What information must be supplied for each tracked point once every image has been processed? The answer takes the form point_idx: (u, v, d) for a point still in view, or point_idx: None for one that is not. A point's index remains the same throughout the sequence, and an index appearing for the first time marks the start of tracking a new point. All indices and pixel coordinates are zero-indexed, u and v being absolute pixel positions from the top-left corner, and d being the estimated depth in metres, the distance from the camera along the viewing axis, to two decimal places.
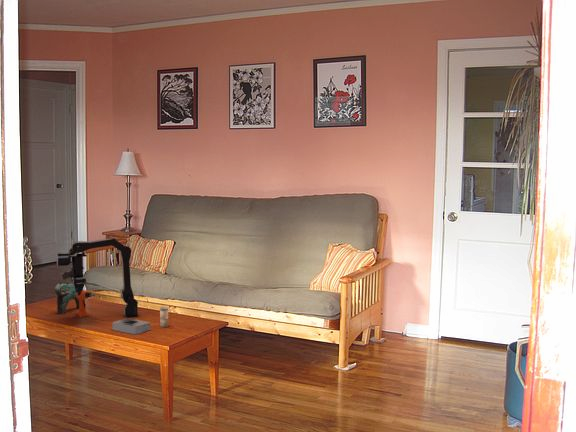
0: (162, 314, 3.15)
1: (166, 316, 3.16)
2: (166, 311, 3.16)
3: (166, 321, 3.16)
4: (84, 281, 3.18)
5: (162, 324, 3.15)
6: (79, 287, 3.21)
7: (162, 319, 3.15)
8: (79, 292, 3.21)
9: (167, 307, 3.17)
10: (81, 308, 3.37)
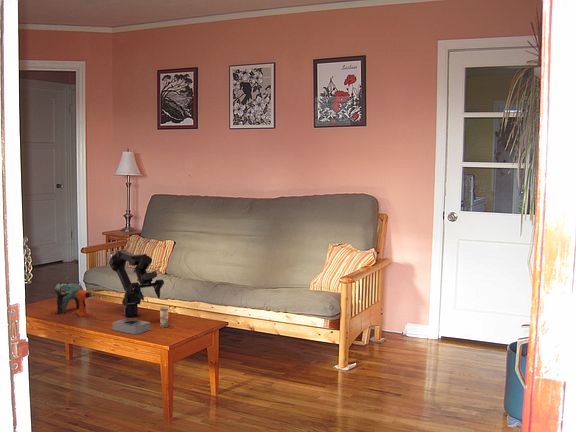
0: (162, 314, 3.15)
1: (166, 316, 3.16)
2: (166, 311, 3.16)
3: (166, 321, 3.16)
4: None
5: (162, 324, 3.15)
6: None
7: (162, 319, 3.15)
8: None
9: (167, 307, 3.17)
10: (81, 308, 3.37)
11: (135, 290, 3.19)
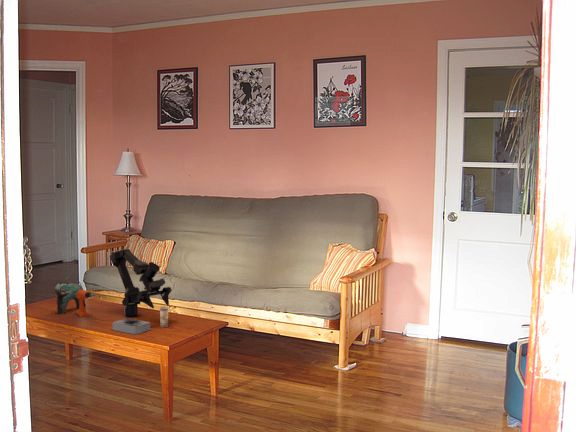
0: (162, 314, 3.15)
1: (166, 316, 3.16)
2: (166, 311, 3.16)
3: (166, 321, 3.16)
4: None
5: (162, 324, 3.15)
6: None
7: (162, 319, 3.15)
8: None
9: (167, 307, 3.17)
10: (81, 308, 3.37)
11: (144, 298, 3.17)
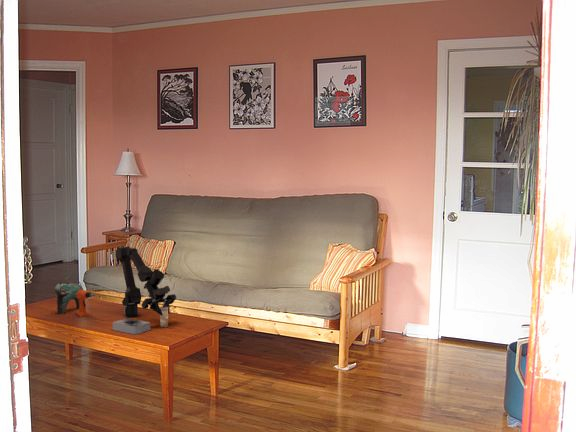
0: None
1: (166, 316, 3.16)
2: (166, 311, 3.16)
3: (166, 321, 3.16)
4: None
5: (162, 324, 3.15)
6: None
7: (162, 319, 3.15)
8: None
9: (167, 307, 3.17)
10: (81, 308, 3.37)
11: (153, 305, 3.15)
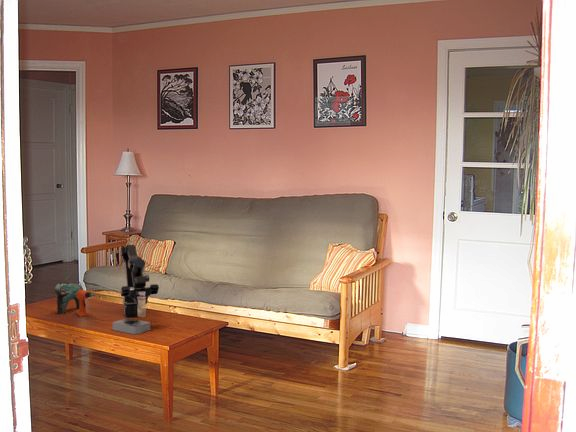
0: (138, 303, 3.08)
1: (142, 306, 3.08)
2: (142, 300, 3.08)
3: (142, 311, 3.09)
4: None
5: (138, 313, 3.09)
6: None
7: (138, 308, 3.09)
8: None
9: (144, 297, 3.09)
10: (81, 308, 3.37)
11: (131, 294, 3.11)
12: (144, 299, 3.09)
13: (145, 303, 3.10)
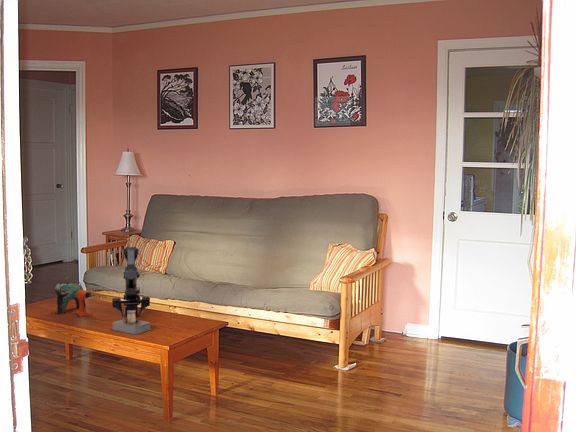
0: (128, 317, 3.08)
1: (131, 320, 3.07)
2: (131, 314, 3.07)
3: None
4: None
5: None
6: (142, 308, 3.12)
7: (128, 322, 3.08)
8: (141, 312, 3.10)
9: (134, 311, 3.08)
10: (81, 308, 3.37)
11: (117, 305, 3.10)
12: (133, 313, 3.08)
13: (135, 317, 3.09)
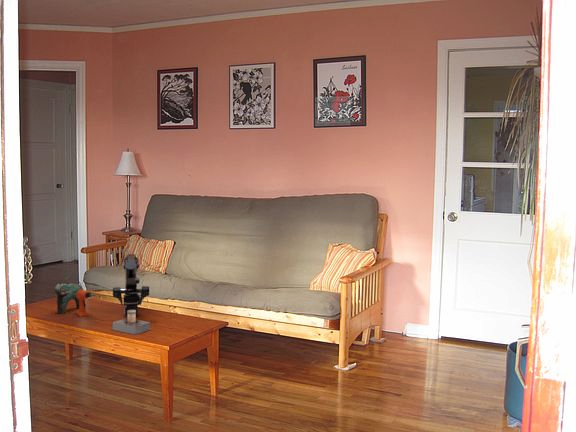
0: (128, 317, 3.08)
1: (131, 320, 3.07)
2: (131, 315, 3.07)
3: None
4: None
5: None
6: (142, 297, 3.21)
7: (128, 322, 3.08)
8: (141, 302, 3.19)
9: (134, 311, 3.08)
10: (81, 308, 3.37)
11: (117, 295, 3.19)
12: (134, 313, 3.08)
13: (135, 317, 3.09)
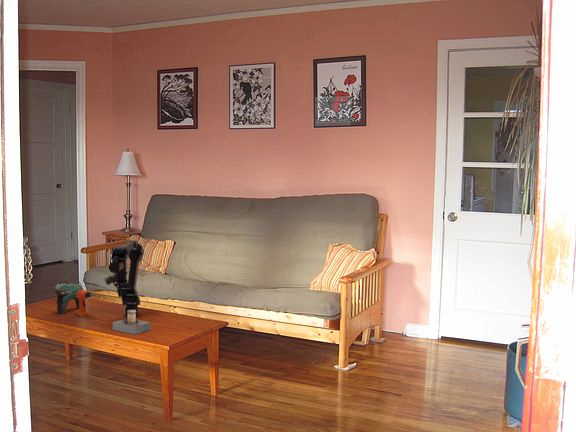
0: (128, 317, 3.08)
1: (131, 320, 3.07)
2: (131, 314, 3.07)
3: None
4: (128, 286, 3.15)
5: None
6: (123, 292, 3.17)
7: (128, 322, 3.08)
8: (123, 297, 3.18)
9: (134, 311, 3.08)
10: (81, 308, 3.37)
11: None
12: (134, 313, 3.08)
13: (135, 317, 3.09)
